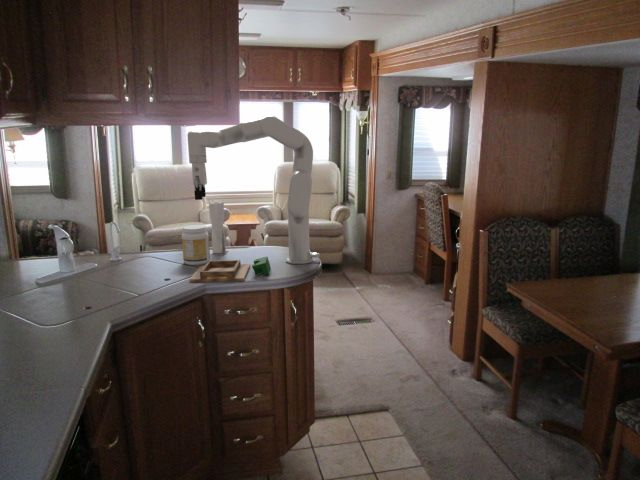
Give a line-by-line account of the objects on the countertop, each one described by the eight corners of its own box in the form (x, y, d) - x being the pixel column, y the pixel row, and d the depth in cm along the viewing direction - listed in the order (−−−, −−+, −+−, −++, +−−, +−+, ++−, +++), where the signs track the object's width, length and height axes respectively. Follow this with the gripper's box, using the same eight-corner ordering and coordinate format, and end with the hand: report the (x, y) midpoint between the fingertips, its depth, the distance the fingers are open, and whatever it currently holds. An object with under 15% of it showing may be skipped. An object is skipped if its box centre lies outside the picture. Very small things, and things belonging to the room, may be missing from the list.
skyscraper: (208, 254, 246) (205, 199, 240) (213, 251, 254) (209, 197, 248) (225, 254, 245) (222, 198, 239) (229, 251, 253) (226, 196, 247)
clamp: (259, 280, 216) (255, 260, 218) (272, 276, 216) (268, 256, 218) (254, 277, 204) (249, 256, 206) (267, 273, 204) (262, 252, 206)
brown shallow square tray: (250, 266, 221) (249, 258, 221) (244, 281, 200) (243, 272, 199) (201, 267, 221) (200, 259, 220) (189, 282, 199) (188, 273, 199)
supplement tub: (190, 258, 238) (188, 224, 234) (214, 259, 235) (212, 224, 232) (178, 265, 226) (176, 229, 222) (203, 266, 224) (201, 229, 220)
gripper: (203, 160, 210) (206, 200, 213) (209, 158, 227) (211, 195, 230) (185, 161, 209) (188, 201, 213) (192, 158, 226) (195, 196, 230)
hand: (200, 198), depth 222 cm, fingers open, 9 cm apart
